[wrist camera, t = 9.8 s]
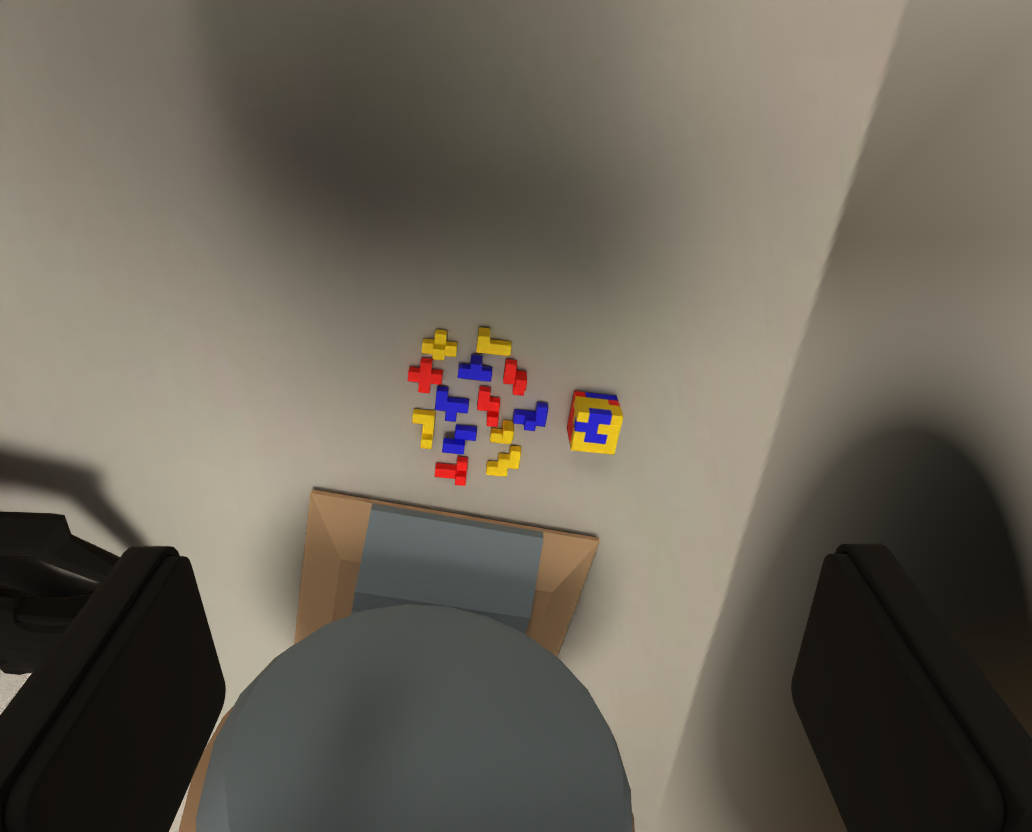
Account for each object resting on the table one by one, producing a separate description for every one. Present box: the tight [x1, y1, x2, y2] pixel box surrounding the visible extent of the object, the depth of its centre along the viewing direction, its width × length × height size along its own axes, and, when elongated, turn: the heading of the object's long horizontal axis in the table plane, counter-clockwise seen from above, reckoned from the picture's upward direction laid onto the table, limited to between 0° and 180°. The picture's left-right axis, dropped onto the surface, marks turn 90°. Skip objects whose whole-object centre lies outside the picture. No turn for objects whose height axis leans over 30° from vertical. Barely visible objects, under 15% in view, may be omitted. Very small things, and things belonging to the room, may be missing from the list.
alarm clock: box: [179, 490, 635, 832], centre depth 24 cm, size 14×10×18 cm
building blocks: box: [408, 327, 623, 486], centre depth 27 cm, size 6×8×2 cm
